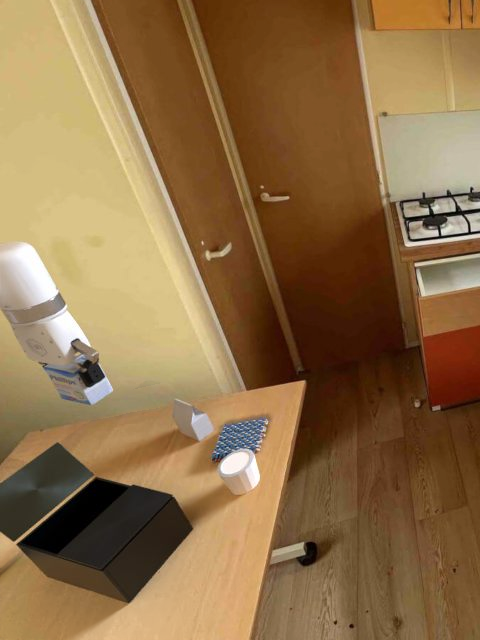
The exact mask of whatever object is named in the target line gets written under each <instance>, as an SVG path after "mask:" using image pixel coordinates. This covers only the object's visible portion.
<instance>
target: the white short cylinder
mask: <svg viewBox="0 0 480 640" xmlns="http://www.w3.org/2000/svg"><path fill="white" fill-rule="evenodd" d="M216 473H217V474H218V476H219V477H220V479H221V480H222V481H223V483H224V484H225V485H226V487H227V488H228V490H229V491H230V492H231V494H232V495H235V496H242V495H245V494H248V493H250V492H251V491H252V490H254V489H255V487H257V485H258V483H260V477H261V476H260V471H259V468H258V463H257V460H256V456H255V453H253V452H252V450H249V449H239V450H236V451H233V452H232V453H230V454H228V455H227V456H226V457H225V458H224V459H223V460H221V461H219V464H218V465H217V469H216Z"/></svg>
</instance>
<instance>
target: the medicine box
mask: <svg viewBox="0 0 480 640" xmlns="http://www.w3.org/2000/svg"><path fill="white" fill-rule="evenodd" d="M77 356H78V355H75V357H77ZM86 360H87V359H86V357H84V356H83V357H82V358H80V359H79V360H78V361H79V362H80V363H81V364H82V365H83V363H84V362H85V361H86ZM98 364H99V366H100V368H101V369H102V371H103V373H104V375H105V378H104V379H103V380H101V381H100V382H98V383H97V384H95V385H94V386H92V387H90V388H89V387H86V385H85V384H84V382H83V380H82V379H81V377H80V375H79V374H78V372H80V370H78V369H77V368H76V367H75V366H74V365H73V364H72V363H70V364H69V365H67V366H60V365H53V364H47V365H46V366H44V367H42V369H43V370H44V372H45V373H46V375H47V377H48V378H49V381H50V382H51V383H52V384H53V387H54V388H55V390H56V391H57V393H58V394H59V397H60V398H61V399H62V400H64V401H65V400H66V401H69V402H70V401H71V402H75V403H78V404H84V405H89V406H94V405H95V404H96V403H98V402H99V401H101V400H102V399H104V398H105V397H107V396H109V395H110V394H111V393H112V392H114V389H113V387H112V384H111V382H110V381H109V379H108V377H107V376H106V374H105V372H104V370H103V368H102V366H101V364H100V362H99V363H98Z"/></svg>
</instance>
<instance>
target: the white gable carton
mask: <svg viewBox="0 0 480 640" xmlns="http://www.w3.org/2000/svg"><path fill="white" fill-rule="evenodd" d="M172 401H173V406H172V407H173V408H172V413H171V417H172V419H173V420H174V423H175V425H176V426H177V428H178V431H179V433H180V434H181V435H184V436H186V437H189V438H191V439H193V440H195V441H197V442H202V441H203V440H205V438H207V436H209V435H211V433H213V432H214V431H215V429H214V426H213V424H212V422H211V420H210V418H209V416H208V413H207V412H206V411H203V410H200V409H198V408H197V407H196V406H195V405H194V404H191V403H188V402H187V401H183V400H181V399H179V398H176V397H175V398H173V399H172Z"/></svg>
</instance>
